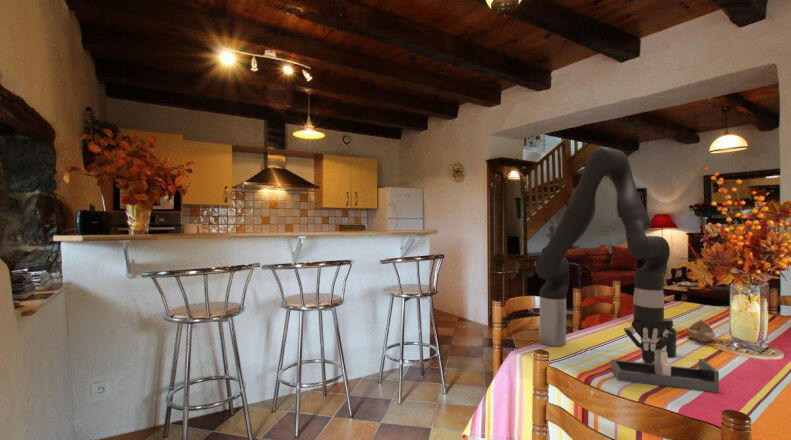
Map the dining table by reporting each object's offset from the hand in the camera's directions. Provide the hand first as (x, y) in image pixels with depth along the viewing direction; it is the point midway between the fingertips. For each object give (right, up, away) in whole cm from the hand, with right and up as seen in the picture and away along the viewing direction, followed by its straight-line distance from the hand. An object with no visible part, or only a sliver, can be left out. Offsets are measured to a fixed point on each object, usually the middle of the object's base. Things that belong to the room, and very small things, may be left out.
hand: (648, 362), depth 114 cm
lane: (+3, -5, -1) cm, 6 cm away
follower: (+4, -5, -1) cm, 6 cm away
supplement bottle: (+19, -5, +20) cm, 28 cm away
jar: (+9, -5, +11) cm, 15 cm away
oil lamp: (+45, -5, +37) cm, 58 cm away
